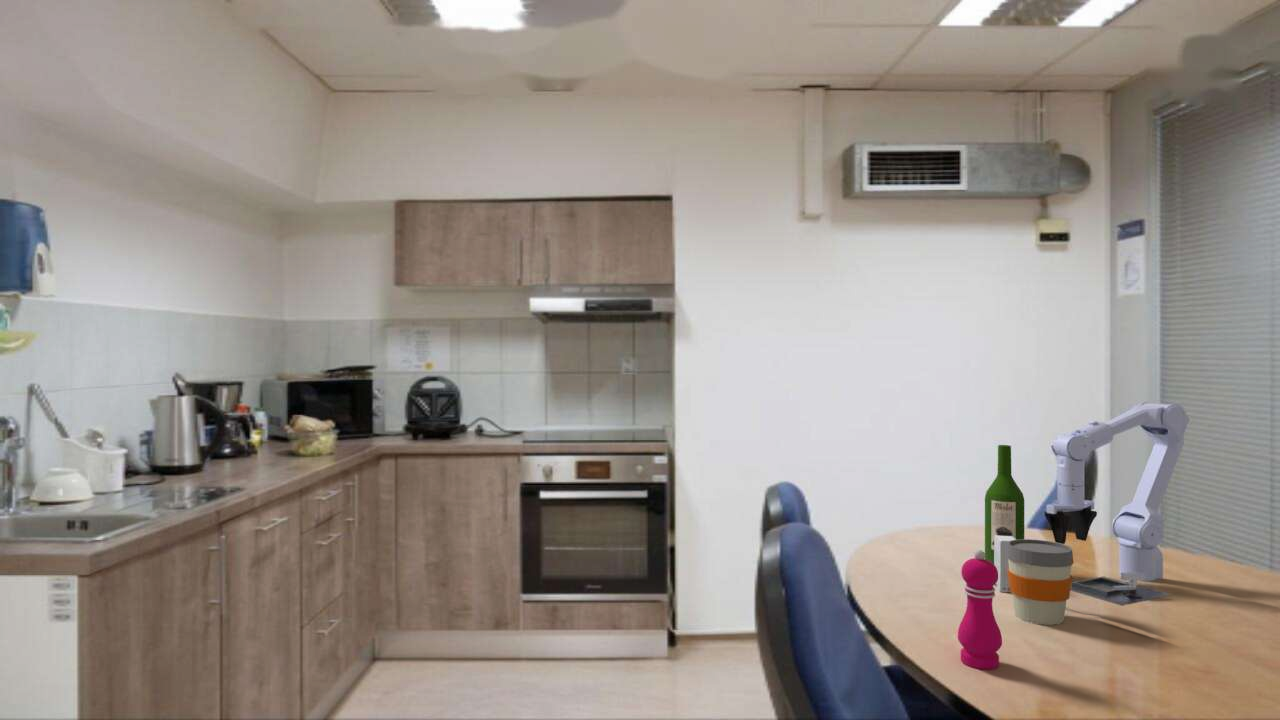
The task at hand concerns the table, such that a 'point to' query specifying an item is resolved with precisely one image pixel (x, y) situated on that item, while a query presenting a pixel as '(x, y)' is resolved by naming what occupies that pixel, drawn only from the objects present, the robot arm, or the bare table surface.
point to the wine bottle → (1003, 505)
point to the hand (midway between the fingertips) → (1070, 541)
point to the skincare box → (1002, 562)
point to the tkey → (1130, 581)
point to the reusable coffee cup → (1039, 579)
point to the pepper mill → (979, 615)
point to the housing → (1114, 591)
